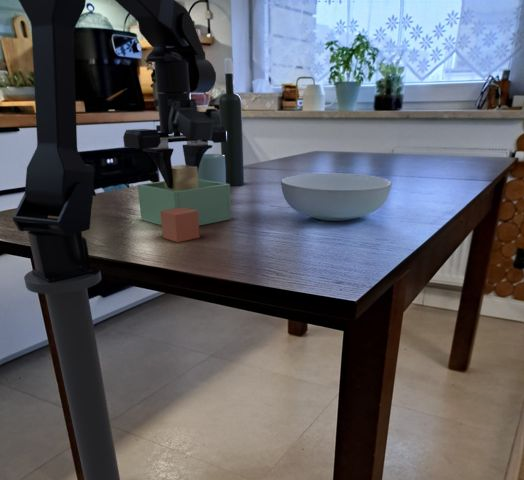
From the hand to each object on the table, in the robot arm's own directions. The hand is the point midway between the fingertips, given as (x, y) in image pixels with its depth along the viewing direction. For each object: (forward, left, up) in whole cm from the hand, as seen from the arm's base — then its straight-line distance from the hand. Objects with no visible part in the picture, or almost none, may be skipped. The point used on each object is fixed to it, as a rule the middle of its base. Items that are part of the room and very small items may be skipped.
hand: (181, 186), depth 96 cm
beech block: (0, 0, -1) cm, 1 cm away
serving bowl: (+24, -17, -7) cm, 30 cm away
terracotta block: (-7, -10, -6) cm, 14 cm away
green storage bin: (+2, +2, -6) cm, 7 cm away
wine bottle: (+37, +30, -7) cm, 47 cm away
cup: (+16, +13, -7) cm, 21 cm away
